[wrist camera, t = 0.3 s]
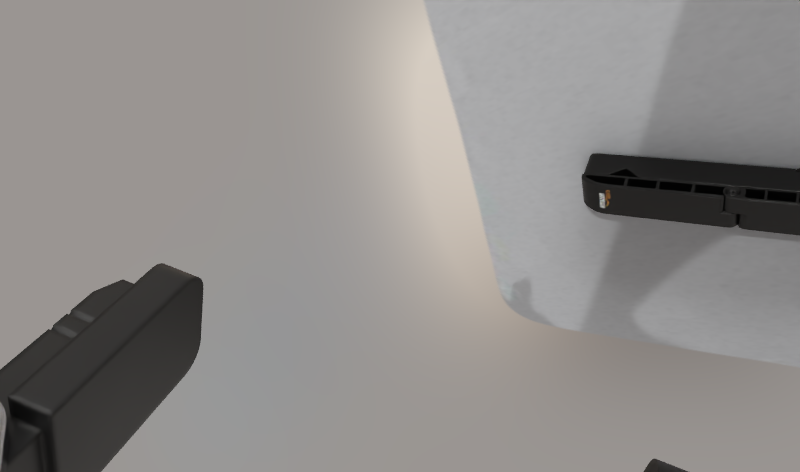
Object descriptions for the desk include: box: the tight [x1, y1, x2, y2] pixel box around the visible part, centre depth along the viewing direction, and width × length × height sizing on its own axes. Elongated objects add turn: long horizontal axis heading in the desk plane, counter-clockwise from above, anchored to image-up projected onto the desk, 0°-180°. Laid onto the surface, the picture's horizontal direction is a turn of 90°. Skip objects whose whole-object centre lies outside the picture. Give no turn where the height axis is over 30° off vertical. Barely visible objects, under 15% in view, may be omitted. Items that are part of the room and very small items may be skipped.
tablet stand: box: [582, 154, 800, 235], centre depth 43 cm, size 18×3×3 cm, turn 105°
